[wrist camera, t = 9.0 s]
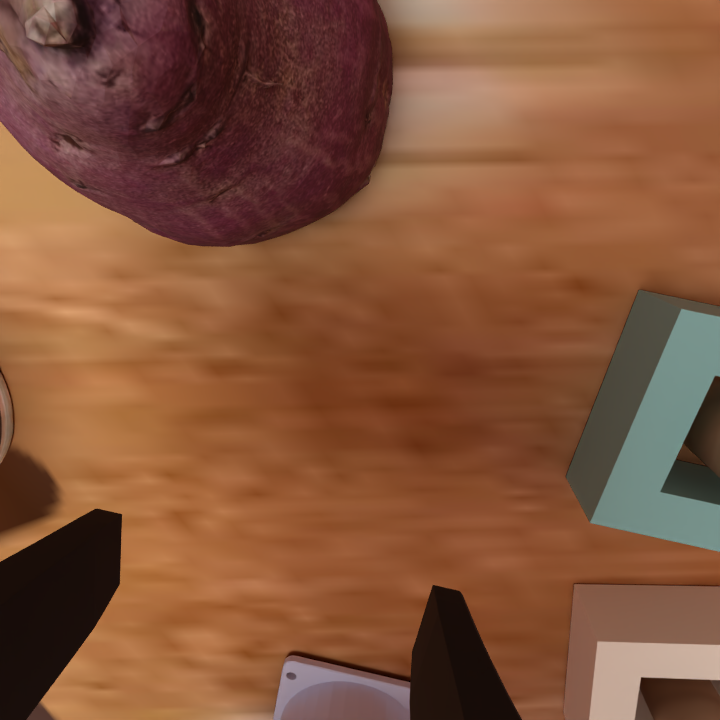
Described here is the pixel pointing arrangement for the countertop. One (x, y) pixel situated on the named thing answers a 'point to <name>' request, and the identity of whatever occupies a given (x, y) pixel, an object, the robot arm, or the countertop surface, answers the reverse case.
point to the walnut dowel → (680, 699)
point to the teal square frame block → (653, 426)
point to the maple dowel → (707, 429)
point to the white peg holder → (637, 645)
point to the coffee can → (5, 419)
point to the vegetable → (200, 107)
